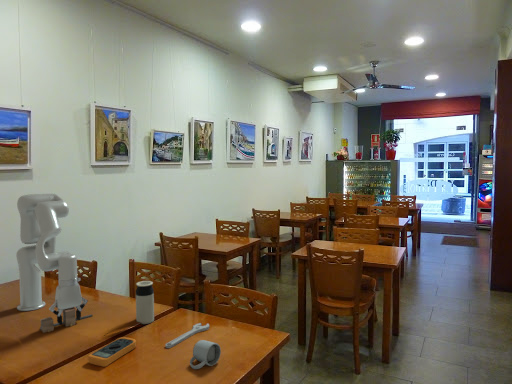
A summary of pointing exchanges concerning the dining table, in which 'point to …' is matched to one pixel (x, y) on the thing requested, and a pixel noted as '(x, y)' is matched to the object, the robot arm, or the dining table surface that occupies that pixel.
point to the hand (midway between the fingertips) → (69, 321)
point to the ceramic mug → (205, 353)
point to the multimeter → (112, 351)
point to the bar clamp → (48, 323)
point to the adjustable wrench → (187, 334)
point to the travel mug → (144, 302)
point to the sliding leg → (69, 317)
